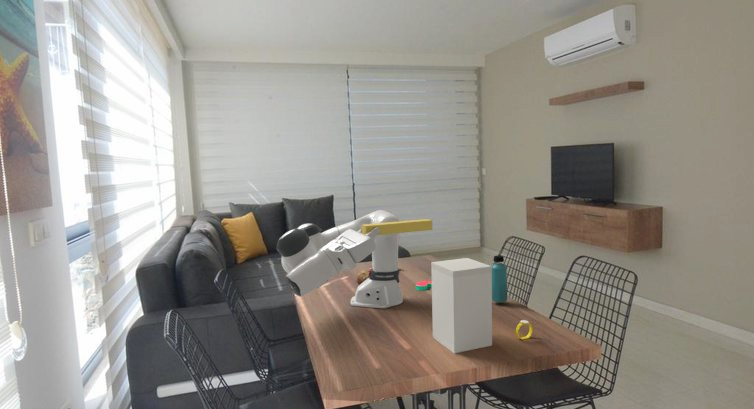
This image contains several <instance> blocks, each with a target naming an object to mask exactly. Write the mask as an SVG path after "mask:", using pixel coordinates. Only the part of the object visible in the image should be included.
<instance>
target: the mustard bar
mask: <svg viewBox="0 0 754 409" xmlns="http://www.w3.org/2000/svg"><path fill="white" fill-rule="evenodd" d="M374 227H378V228H379V230H380V233H379V234H377V235H385V234H395V233H400V234H404V233H414V232H415V233H416V232H424V231H426V232H427V231H433V220H432V219H429V218H422V219H412V220H402V221H400V220H399V221H398V222H387V223H375V224H364V225H362V234H365V235H366V234H367V233H369V232H371V231H372V229H373V228H374Z"/></svg>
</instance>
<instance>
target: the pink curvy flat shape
mask: <svg viewBox="0 0 754 409" xmlns="http://www.w3.org/2000/svg"><path fill="white" fill-rule="evenodd" d="M428 288H431V290H432V280H423V281H419V282H417V283H415V290H417V291H427V290H428Z"/></svg>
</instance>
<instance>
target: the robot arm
mask: <svg viewBox="0 0 754 409" xmlns="http://www.w3.org/2000/svg"><path fill="white" fill-rule="evenodd" d="M398 221H400V218H398V216H396V215H395V214H393V213H391V212H389V211H388V210H383V209H378V210H374V211H373V212H371V213H368V214H365V215H363V216H361V217H359V218H357V219H354V220H351V221H349V222H345V223H343V224H340V225H337V226H334V227H331V228H329V229H326V230H324V231H323V229H322V228H320V226H318V225H317V224H315V223H303V224H301V225H299V226H298V227H297V228H294V229H290V230H289V231H286V232H285V233H284V234H282V236H280V237H279V239H278V240H277V243H276V250H277V252H278V253H279V255H280V256H281V266H282V268H283V270H284V271H285V272H286V273H287V274H286V275H285V281H286V284H287V285H288V288H290V290H291V291H292V292H293V294H295V295H296V296H297V297H298V296H299V297H301V298H302V297H304V296H306V295H308V294H310V293H312V292H314V291H315V290H318V289H320V288H321V287H322V286H323V285H325V284H326V283H327V282H329V279H330V278H332V277H333V276H336V275H339V273H341V272H342V271H352V270H353V269H354V268H356V267H357V264H359V263H360V262H361V261H363V260H364V259H366V258H367V257H368V256H369V255H371V258H372V260H371V262H372V263H371V264H372V267H370V268H368V269H367V270H368V277H369V278H368V279H366V280H365V281H364V282H363V283H361V284H358V285H357V286H358V287H357V288H356V290H355V295H354V296H352V297H351V298H350V305H351V306H353V307H363V308H364V307H365V308H372V309H373V308H374V309H375V308H376V309H387V308H390V307H394V306H398V305H401V304H402V303H403V302H404V298H403V295H402V292H401V286H400V281H401V273H400V268H399V245H400V236H401V233H395V234H385V235H377V234H379V233H380V230H379V228H378V227H374V228H373V229H372V231H371V232H369V233H367V234H366V235H365V234H362V225H364V224H375V223H387V222H398ZM322 231H323V232H322Z"/></svg>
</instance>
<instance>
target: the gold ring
mask: <svg viewBox="0 0 754 409" xmlns="http://www.w3.org/2000/svg"><path fill="white" fill-rule="evenodd" d="M522 326H528V327H529V328H528V329H529V331H528V334H527V335H525V336H520V329H521V327H522ZM533 332H534V329H533V325H532V324H531V323H530V322H529V321H528V320H525V319H522V320H519V323H518V324H517V325H516V328H515V335H516V337H517V339H520V340H522V341H523V340H529V339H530V338H531V337H532V335H533Z"/></svg>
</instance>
